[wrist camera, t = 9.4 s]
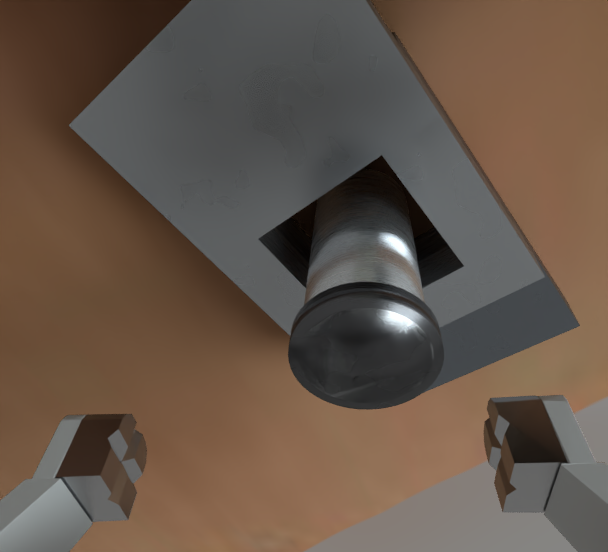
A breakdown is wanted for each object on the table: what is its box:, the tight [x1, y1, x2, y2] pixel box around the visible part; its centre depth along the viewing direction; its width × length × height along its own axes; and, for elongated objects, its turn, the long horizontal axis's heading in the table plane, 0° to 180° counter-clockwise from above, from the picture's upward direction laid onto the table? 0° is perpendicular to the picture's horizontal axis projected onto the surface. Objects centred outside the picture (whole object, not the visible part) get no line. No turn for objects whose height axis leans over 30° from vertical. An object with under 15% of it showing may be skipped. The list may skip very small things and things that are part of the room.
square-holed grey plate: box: [69, 0, 580, 392], centre depth 21 cm, size 10×20×4 cm, turn 39°
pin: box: [288, 169, 444, 409], centre depth 19 cm, size 5×5×9 cm
